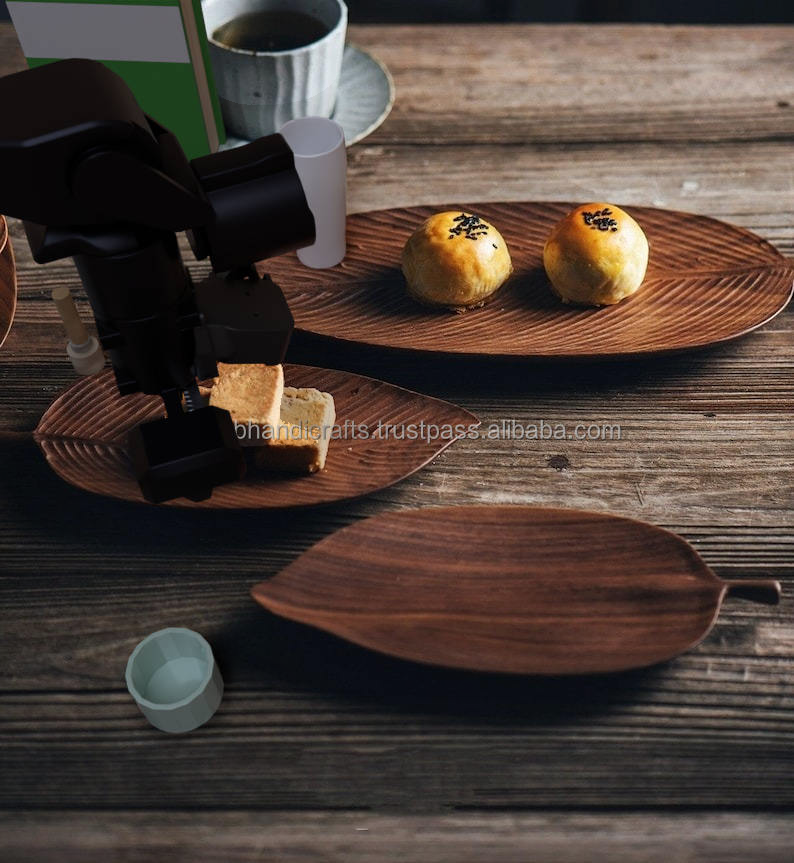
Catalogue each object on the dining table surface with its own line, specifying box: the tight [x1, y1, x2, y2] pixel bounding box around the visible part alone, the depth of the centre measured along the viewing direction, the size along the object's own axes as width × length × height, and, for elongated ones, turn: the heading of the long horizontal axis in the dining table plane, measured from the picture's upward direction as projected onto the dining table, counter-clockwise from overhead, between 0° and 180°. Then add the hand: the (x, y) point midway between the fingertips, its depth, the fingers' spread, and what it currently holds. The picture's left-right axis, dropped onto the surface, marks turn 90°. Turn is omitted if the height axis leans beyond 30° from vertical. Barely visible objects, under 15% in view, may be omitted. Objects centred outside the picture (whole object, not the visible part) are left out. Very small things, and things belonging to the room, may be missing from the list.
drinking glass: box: [276, 115, 348, 270], centre depth 94 cm, size 7×7×15 cm
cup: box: [124, 627, 225, 734], centre depth 68 cm, size 6×6×5 cm
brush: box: [51, 286, 106, 376], centre depth 87 cm, size 3×3×10 cm
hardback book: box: [4, 0, 228, 162], centre depth 102 cm, size 18×7×24 cm, turn 85°
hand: (188, 448), depth 66 cm, fingers open, 9 cm apart
